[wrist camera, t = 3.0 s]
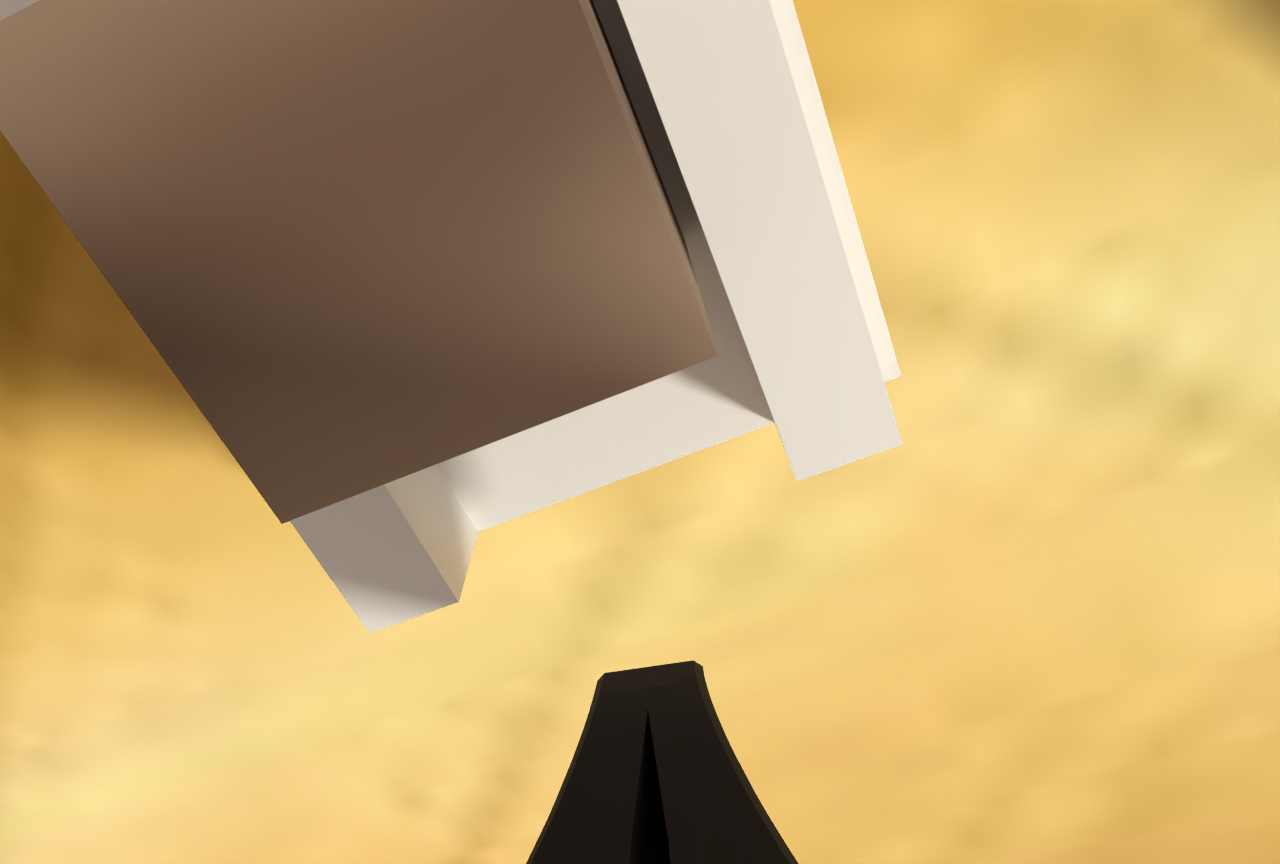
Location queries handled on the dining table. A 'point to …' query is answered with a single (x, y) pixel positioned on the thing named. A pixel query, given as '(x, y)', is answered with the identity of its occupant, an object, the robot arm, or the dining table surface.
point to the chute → (732, 297)
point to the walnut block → (360, 217)
